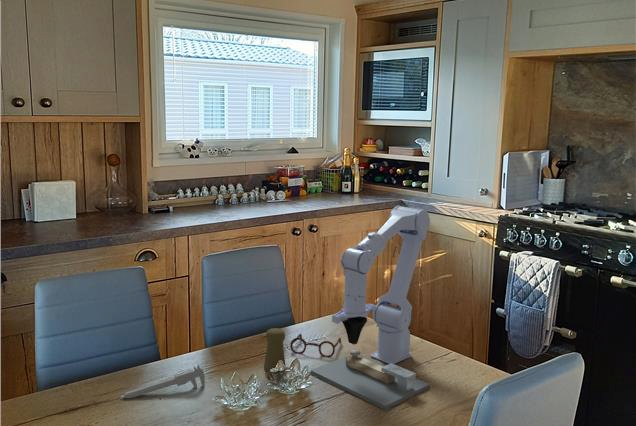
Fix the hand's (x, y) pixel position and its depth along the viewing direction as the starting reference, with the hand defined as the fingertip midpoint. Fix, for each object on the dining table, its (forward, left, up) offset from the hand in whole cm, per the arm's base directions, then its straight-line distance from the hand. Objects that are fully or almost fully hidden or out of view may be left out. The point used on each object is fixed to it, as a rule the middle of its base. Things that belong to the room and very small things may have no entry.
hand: (353, 342), depth 162 cm
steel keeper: (-3, +13, -8) cm, 16 cm away
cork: (+13, -17, -10) cm, 23 cm away
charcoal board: (-1, +5, -9) cm, 11 cm away
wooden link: (-3, +3, -8) cm, 9 cm away
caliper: (+43, -24, -10) cm, 50 cm away
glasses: (-7, -20, -10) cm, 24 cm away
